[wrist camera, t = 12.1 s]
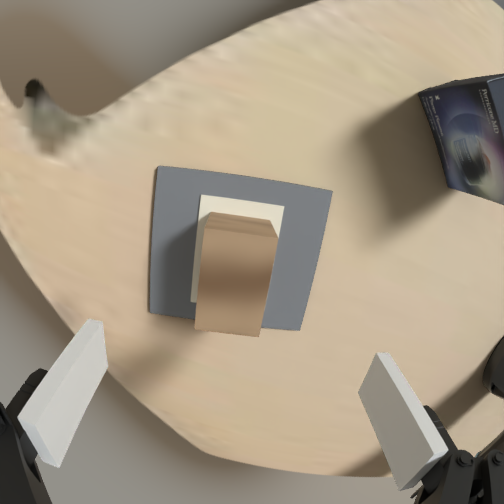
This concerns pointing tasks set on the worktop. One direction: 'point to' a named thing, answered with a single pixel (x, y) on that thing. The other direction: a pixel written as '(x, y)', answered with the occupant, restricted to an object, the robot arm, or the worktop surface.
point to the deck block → (234, 274)
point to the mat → (243, 204)
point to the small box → (470, 133)
